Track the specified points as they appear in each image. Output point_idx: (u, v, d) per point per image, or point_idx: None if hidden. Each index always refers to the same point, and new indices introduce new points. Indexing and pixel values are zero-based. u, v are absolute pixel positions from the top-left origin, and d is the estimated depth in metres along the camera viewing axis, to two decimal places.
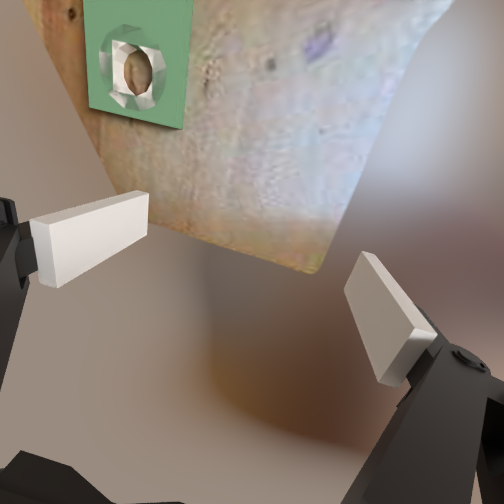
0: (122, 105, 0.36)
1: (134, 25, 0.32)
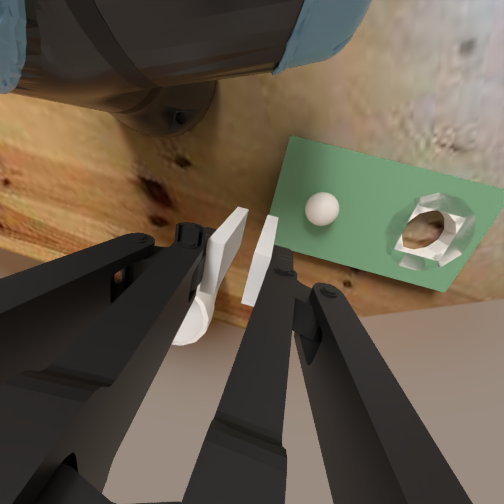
0: (458, 255, 0.31)
1: (389, 221, 0.30)
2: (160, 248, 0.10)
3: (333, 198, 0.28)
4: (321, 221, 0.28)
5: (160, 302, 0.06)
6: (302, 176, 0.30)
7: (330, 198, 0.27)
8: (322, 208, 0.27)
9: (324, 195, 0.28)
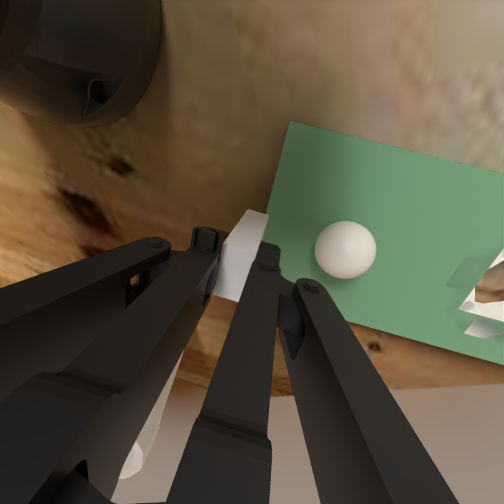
0: None
1: (456, 268, 0.18)
2: (175, 252, 0.10)
3: (367, 234, 0.15)
4: (346, 275, 0.16)
5: (174, 306, 0.06)
6: (311, 192, 0.18)
7: (362, 235, 0.15)
8: (348, 254, 0.15)
9: (351, 229, 0.15)
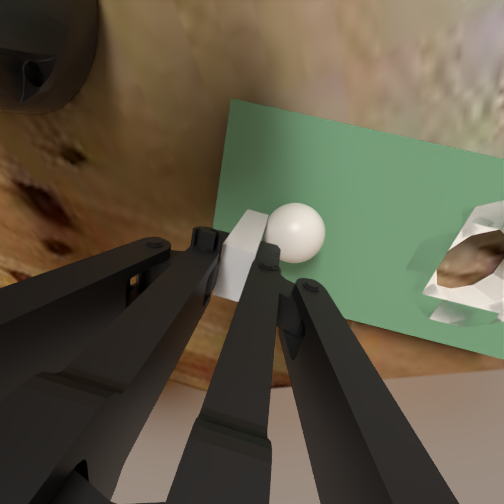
0: None
1: (415, 250, 0.17)
2: (175, 252, 0.10)
3: (313, 215, 0.15)
4: (293, 259, 0.15)
5: (174, 306, 0.06)
6: (260, 175, 0.17)
7: (306, 216, 0.14)
8: (291, 235, 0.14)
9: (296, 210, 0.15)
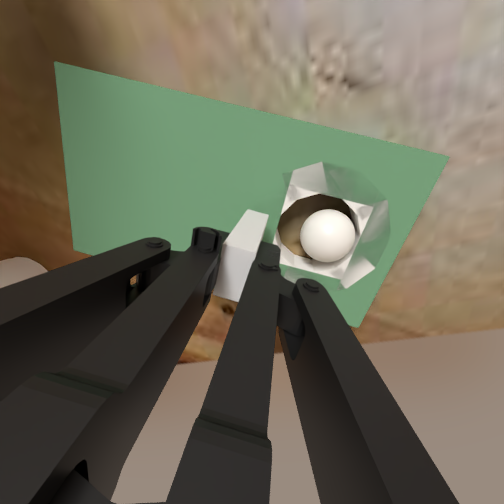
0: (370, 270, 0.18)
1: None
2: (175, 252, 0.10)
3: None
4: None
5: (174, 306, 0.06)
6: (97, 139, 0.17)
7: None
8: None
9: None
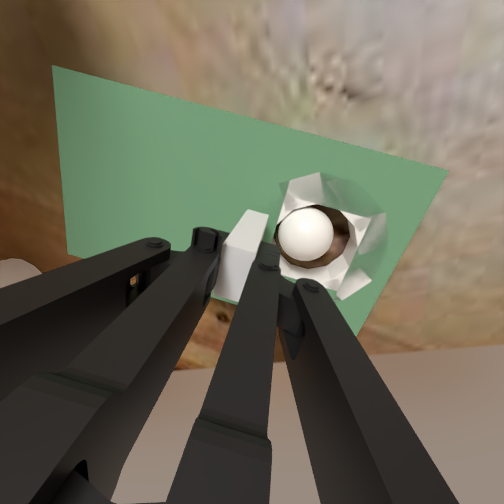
0: (367, 282, 0.18)
1: None
2: (175, 252, 0.10)
3: None
4: (323, 247, 0.17)
5: (174, 306, 0.06)
6: (93, 143, 0.17)
7: None
8: (329, 225, 0.17)
9: None
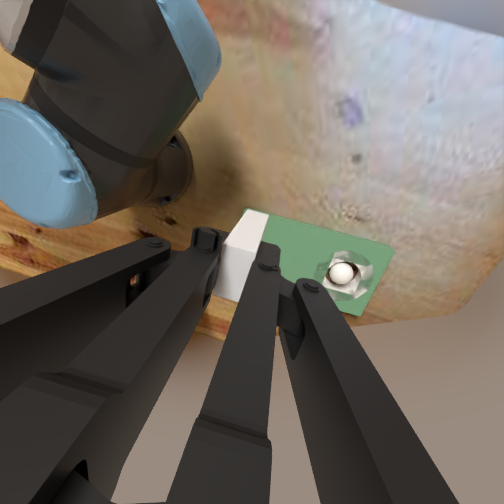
0: (365, 291, 0.43)
1: (316, 268, 0.43)
2: (175, 252, 0.10)
3: None
4: (350, 280, 0.42)
5: (174, 306, 0.06)
6: None
7: None
8: (352, 270, 0.42)
9: (346, 263, 0.43)
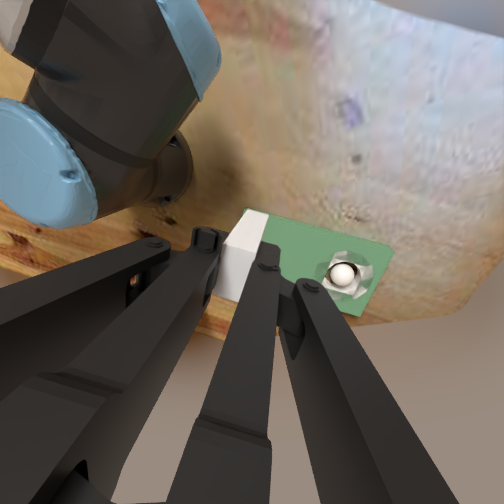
0: (365, 291, 0.43)
1: (315, 268, 0.43)
2: (175, 252, 0.10)
3: None
4: (351, 281, 0.42)
5: (174, 306, 0.06)
6: None
7: None
8: (353, 272, 0.42)
9: (347, 265, 0.43)
